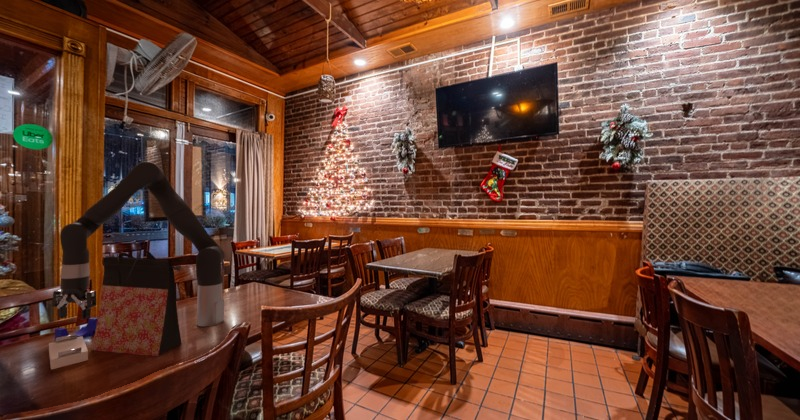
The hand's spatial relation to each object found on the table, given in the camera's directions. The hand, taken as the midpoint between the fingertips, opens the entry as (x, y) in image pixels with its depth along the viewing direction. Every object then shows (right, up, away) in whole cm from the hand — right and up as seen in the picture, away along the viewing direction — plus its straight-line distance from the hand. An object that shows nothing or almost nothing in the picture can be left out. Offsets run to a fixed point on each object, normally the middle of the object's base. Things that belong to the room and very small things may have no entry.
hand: (74, 318), depth 117 cm
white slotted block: (+12, -8, -14) cm, 20 cm away
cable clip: (+1, -8, 0) cm, 8 cm away
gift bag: (+31, -9, -7) cm, 33 cm away
